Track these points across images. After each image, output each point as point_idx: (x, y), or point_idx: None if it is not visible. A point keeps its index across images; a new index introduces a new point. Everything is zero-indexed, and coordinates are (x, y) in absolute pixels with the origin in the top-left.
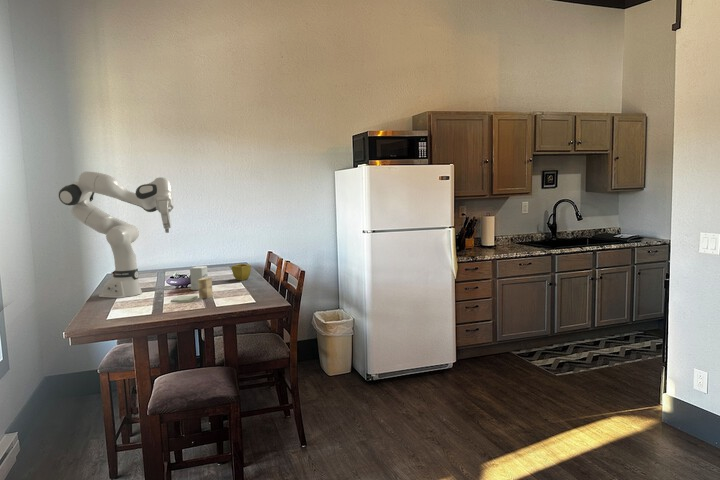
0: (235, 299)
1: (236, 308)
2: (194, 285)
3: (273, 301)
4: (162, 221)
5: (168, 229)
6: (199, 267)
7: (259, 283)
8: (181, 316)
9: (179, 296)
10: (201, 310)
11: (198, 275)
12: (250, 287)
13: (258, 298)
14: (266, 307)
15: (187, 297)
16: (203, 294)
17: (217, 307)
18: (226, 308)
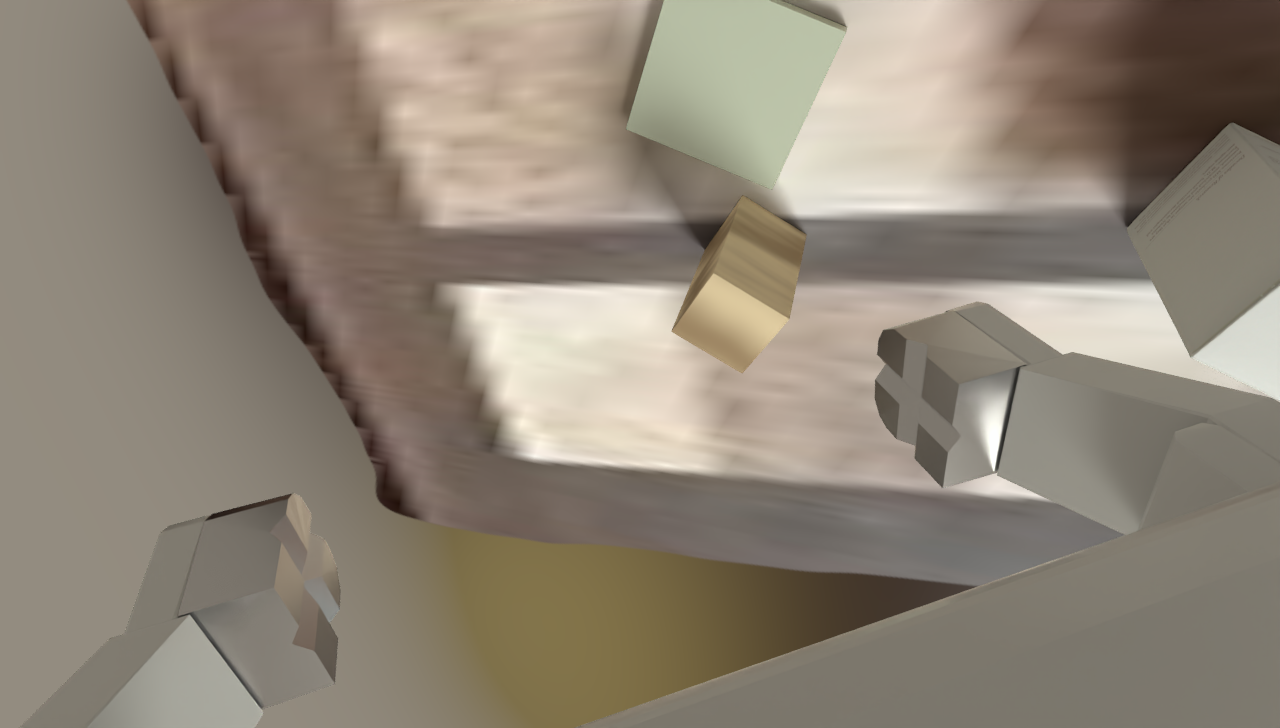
0: (610, 391)
1: (396, 366)
2: (1207, 176)
3: (511, 513)
4: (906, 615)
5: (921, 458)
6: (1272, 345)
7: None
8: (233, 91)
9: (817, 32)
10: (368, 204)
11: (1195, 276)
12: (956, 516)
13: (597, 482)
14: (402, 467)
15: (735, 110)
16: (715, 241)
17: (429, 288)
18: (401, 326)
